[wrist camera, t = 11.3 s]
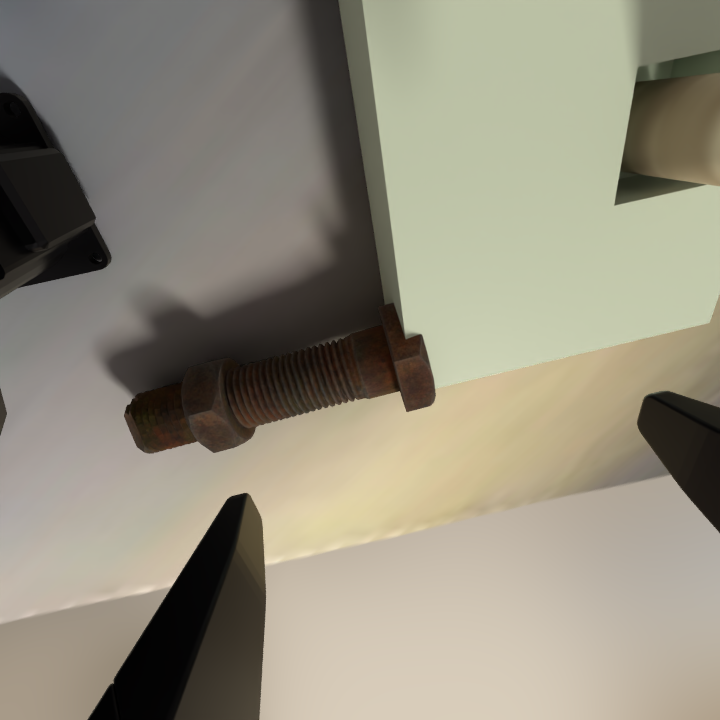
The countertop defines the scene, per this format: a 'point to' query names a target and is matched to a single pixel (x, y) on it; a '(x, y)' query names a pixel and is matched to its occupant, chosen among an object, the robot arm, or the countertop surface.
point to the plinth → (528, 175)
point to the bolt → (282, 388)
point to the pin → (675, 129)
